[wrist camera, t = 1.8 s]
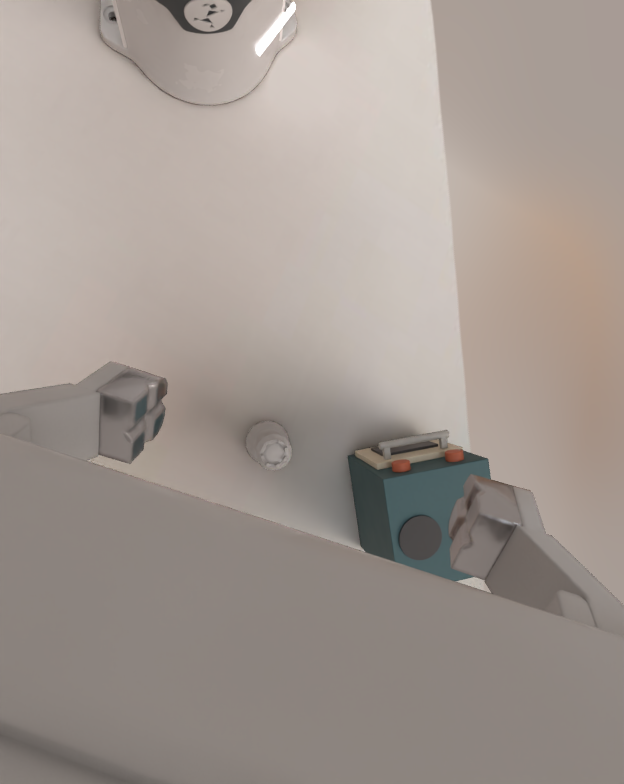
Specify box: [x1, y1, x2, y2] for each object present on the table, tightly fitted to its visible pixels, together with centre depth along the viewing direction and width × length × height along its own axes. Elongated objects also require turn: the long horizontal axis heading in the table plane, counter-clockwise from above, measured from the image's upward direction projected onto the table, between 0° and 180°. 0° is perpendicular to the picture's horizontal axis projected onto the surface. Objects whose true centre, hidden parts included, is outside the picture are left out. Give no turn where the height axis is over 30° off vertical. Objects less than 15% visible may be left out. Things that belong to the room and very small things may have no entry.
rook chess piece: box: [246, 421, 292, 470], centre depth 48 cm, size 4×4×8 cm
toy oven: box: [348, 430, 491, 581], centre depth 48 cm, size 12×10×12 cm
